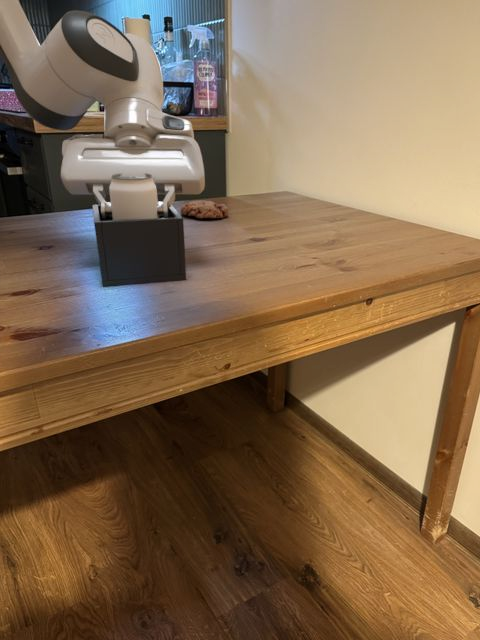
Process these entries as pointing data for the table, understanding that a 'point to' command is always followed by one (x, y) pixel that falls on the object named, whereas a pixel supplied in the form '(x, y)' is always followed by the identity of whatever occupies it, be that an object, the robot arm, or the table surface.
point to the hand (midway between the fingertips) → (135, 216)
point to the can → (133, 197)
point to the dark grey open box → (140, 249)
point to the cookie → (204, 209)
